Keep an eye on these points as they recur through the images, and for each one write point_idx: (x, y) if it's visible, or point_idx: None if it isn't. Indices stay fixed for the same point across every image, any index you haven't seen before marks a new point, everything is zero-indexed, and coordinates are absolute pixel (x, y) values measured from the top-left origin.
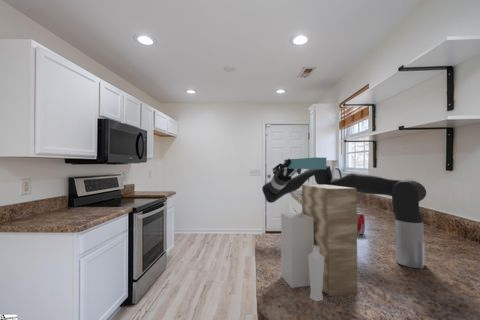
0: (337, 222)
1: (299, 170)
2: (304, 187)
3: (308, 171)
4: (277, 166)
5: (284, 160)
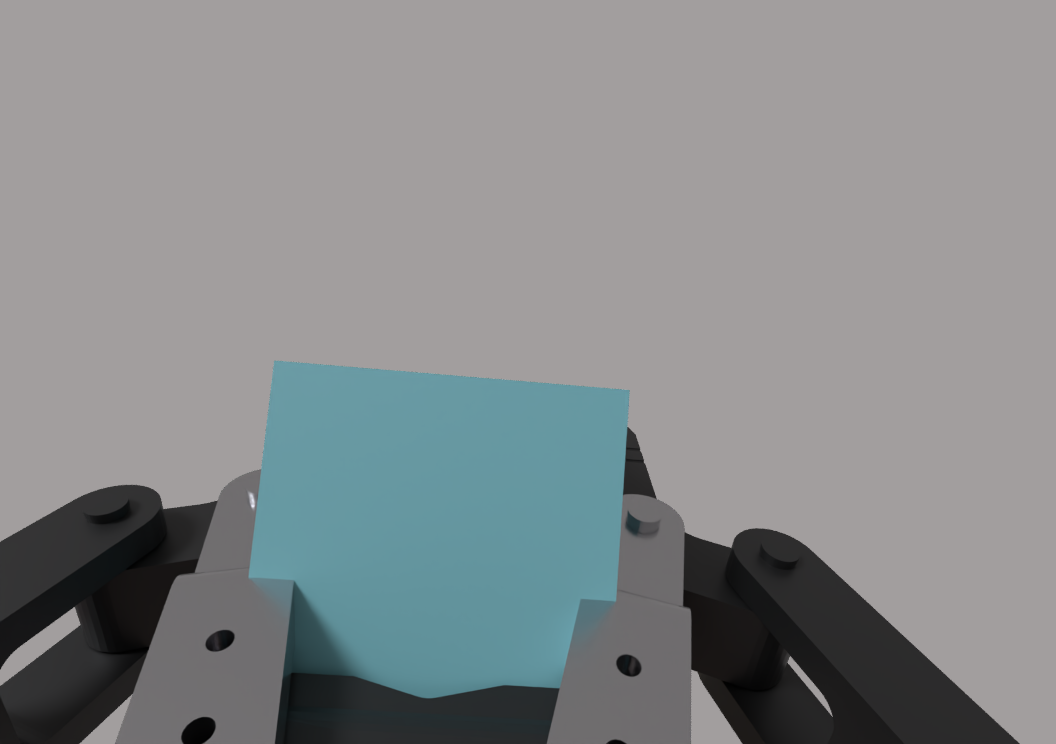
0: None
1: (52, 736)
2: None
3: None
4: (887, 668)
5: (623, 424)
